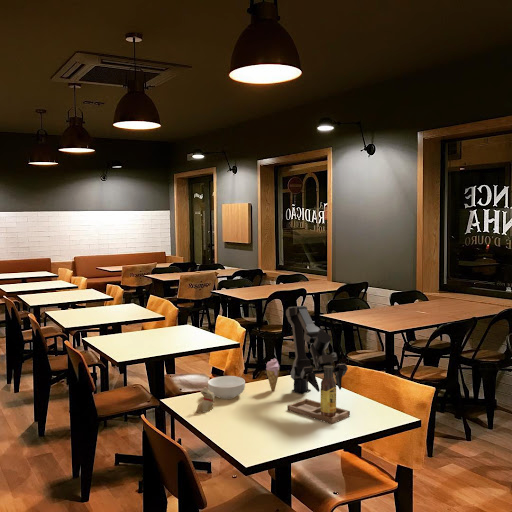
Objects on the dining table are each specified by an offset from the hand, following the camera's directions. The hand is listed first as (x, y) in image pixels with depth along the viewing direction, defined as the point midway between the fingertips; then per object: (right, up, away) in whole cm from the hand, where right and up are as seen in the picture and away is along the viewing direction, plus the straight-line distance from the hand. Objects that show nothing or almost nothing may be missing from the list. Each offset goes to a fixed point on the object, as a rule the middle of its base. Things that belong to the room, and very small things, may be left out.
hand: (329, 390), depth 225 cm
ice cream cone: (-21, -9, +37) cm, 43 cm away
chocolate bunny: (-51, -11, +12) cm, 53 cm away
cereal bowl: (-43, -10, +30) cm, 53 cm away
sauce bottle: (0, -11, +2) cm, 11 cm away
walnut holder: (-4, -11, +6) cm, 13 cm away
